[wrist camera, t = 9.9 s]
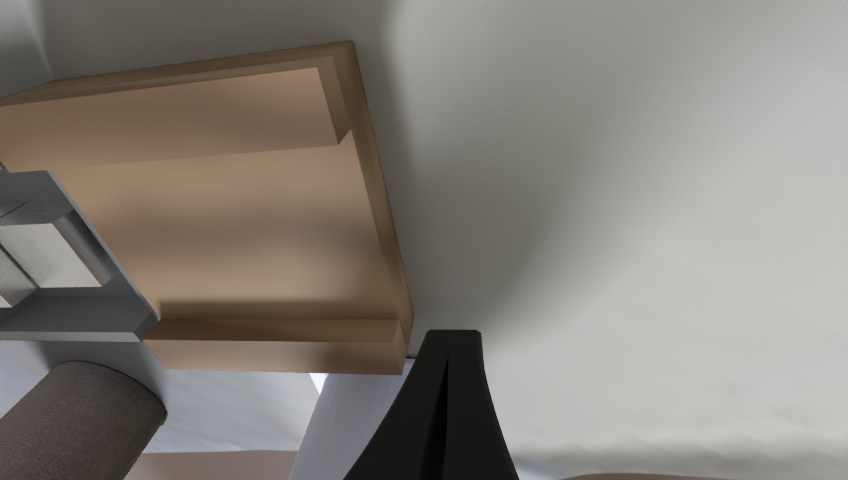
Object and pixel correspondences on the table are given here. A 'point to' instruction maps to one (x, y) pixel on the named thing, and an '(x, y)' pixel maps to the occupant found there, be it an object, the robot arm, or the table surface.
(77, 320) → the tray
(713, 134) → the table surface
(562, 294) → the table surface
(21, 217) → the chip
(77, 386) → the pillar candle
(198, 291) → the slot block
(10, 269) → the chip
